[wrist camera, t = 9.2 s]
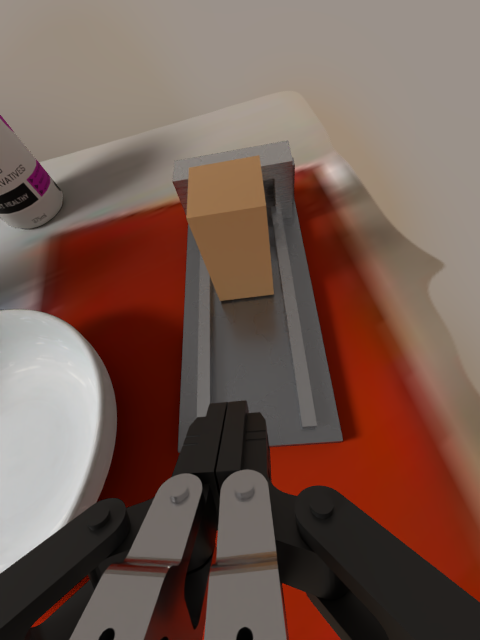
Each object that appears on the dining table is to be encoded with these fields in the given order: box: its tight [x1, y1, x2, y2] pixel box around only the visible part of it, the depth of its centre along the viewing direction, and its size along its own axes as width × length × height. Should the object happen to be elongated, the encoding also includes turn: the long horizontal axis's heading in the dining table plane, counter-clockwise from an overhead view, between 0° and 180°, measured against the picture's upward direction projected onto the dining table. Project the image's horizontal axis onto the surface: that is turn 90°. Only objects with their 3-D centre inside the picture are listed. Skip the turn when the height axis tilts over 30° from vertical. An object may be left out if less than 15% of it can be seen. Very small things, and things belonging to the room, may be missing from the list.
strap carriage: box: [186, 155, 274, 301], centre depth 25 cm, size 12×5×10 cm, turn 3°
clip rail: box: [173, 141, 343, 452], centre depth 25 cm, size 26×12×8 cm, turn 3°
